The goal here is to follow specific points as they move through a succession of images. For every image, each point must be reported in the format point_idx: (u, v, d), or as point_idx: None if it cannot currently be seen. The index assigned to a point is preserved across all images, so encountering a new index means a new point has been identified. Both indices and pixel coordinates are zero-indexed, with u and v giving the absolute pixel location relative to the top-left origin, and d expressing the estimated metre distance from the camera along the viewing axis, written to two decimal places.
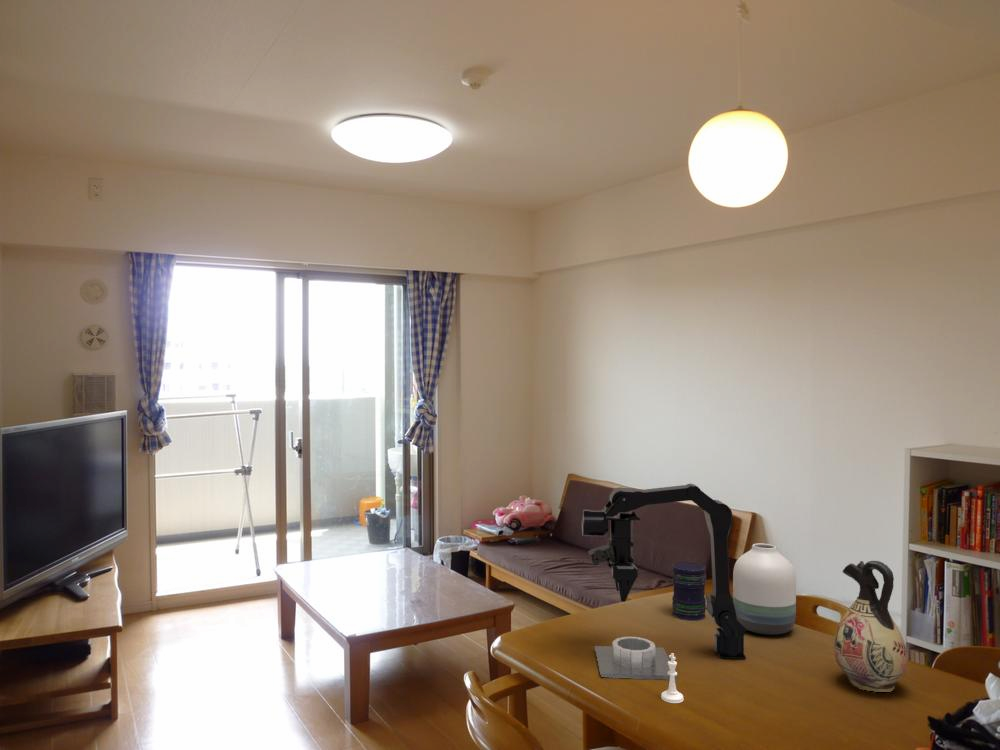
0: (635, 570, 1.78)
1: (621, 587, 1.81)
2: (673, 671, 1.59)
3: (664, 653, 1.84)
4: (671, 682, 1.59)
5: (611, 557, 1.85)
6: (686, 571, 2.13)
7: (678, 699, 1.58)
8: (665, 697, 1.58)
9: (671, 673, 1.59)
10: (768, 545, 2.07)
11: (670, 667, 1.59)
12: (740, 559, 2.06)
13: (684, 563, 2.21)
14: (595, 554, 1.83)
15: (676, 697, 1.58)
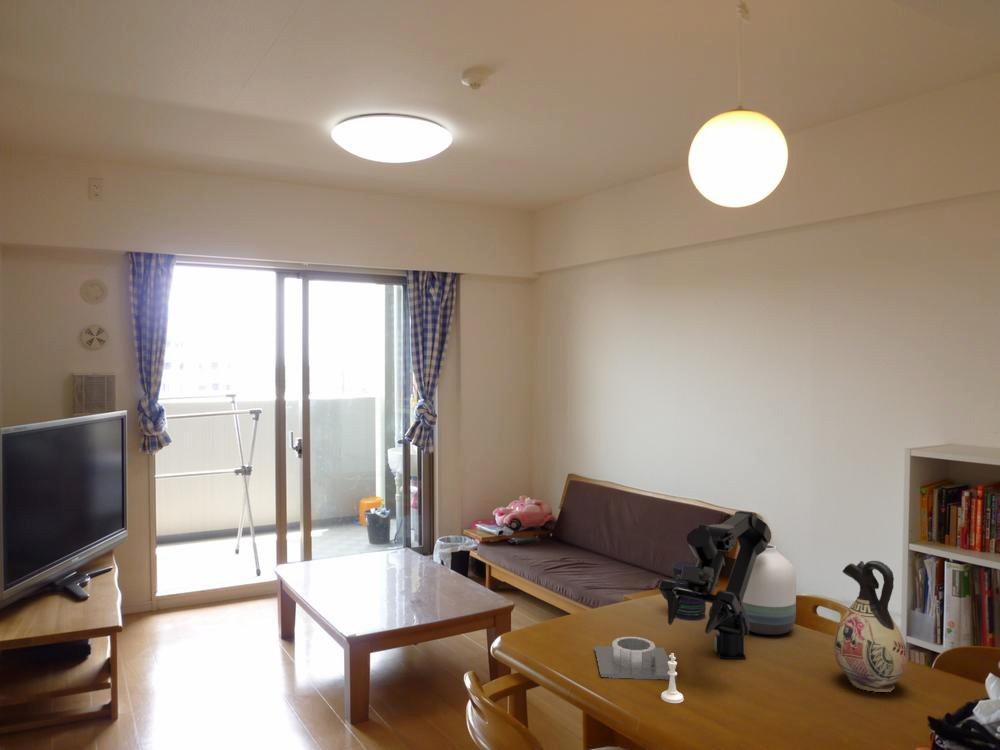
0: None
1: (715, 617, 1.64)
2: (673, 671, 1.59)
3: (664, 653, 1.84)
4: (671, 682, 1.59)
5: (709, 584, 1.69)
6: None
7: (678, 699, 1.58)
8: (665, 697, 1.58)
9: (671, 673, 1.59)
10: (768, 545, 2.07)
11: (670, 667, 1.59)
12: None
13: (684, 563, 2.21)
14: (710, 571, 1.66)
15: (676, 697, 1.58)
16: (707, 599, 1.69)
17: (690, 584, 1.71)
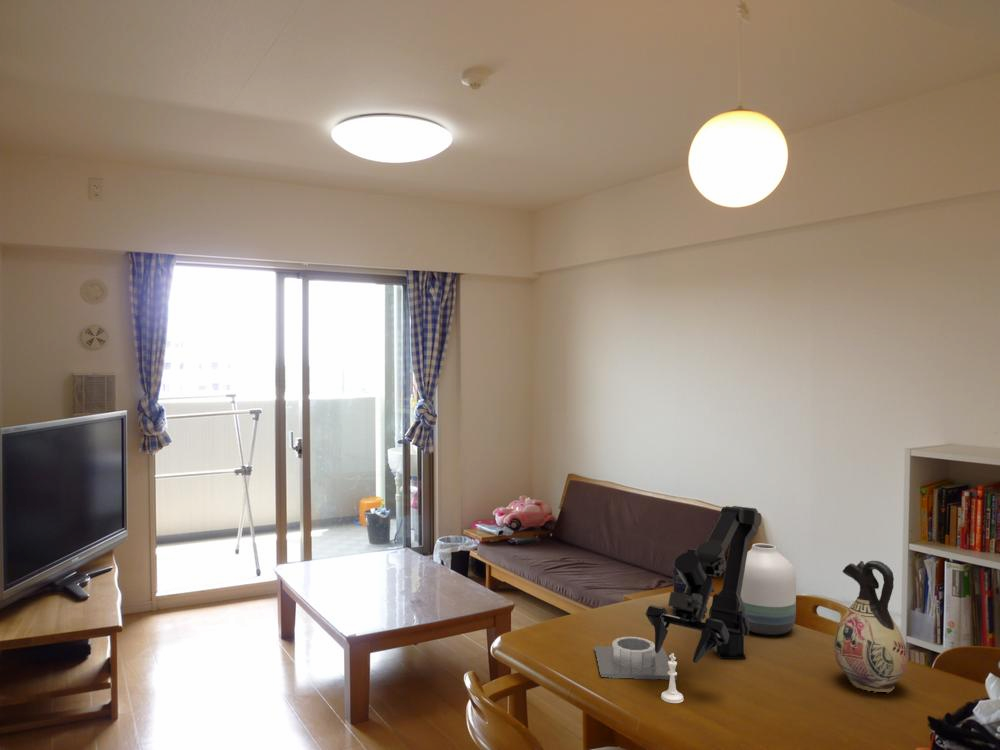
0: None
1: (704, 646, 1.59)
2: (673, 671, 1.59)
3: (664, 653, 1.84)
4: (671, 682, 1.59)
5: (697, 611, 1.63)
6: None
7: (678, 699, 1.58)
8: (665, 697, 1.58)
9: (671, 673, 1.59)
10: (768, 545, 2.07)
11: (670, 667, 1.59)
12: None
13: None
14: (699, 598, 1.61)
15: (676, 697, 1.58)
16: (695, 626, 1.63)
17: (678, 611, 1.66)
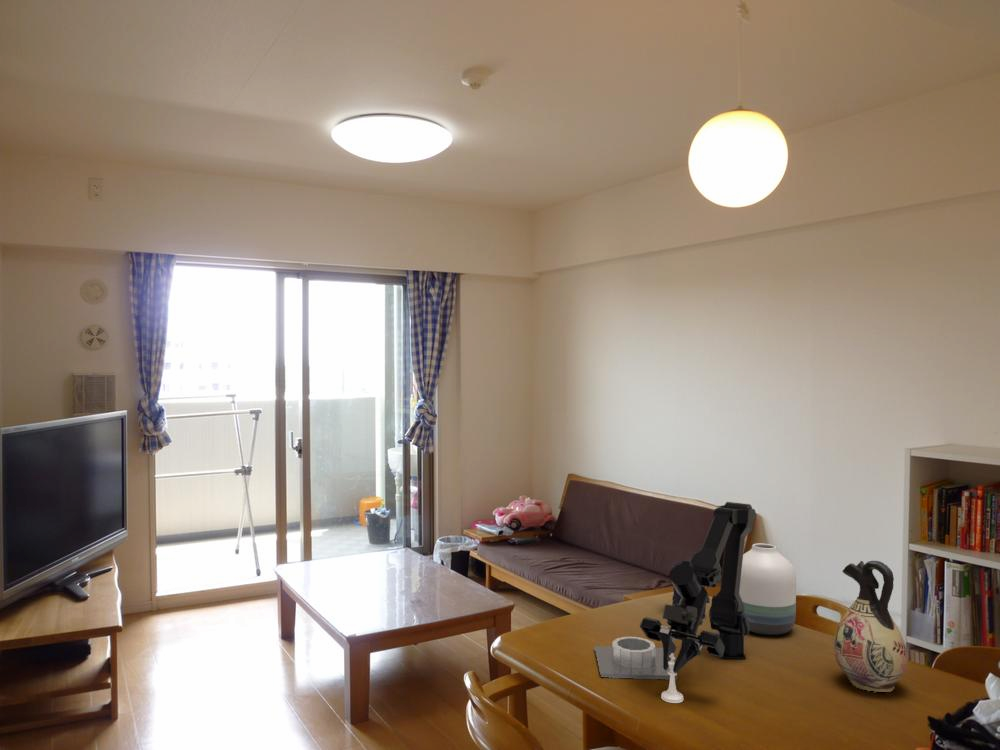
0: None
1: (684, 655, 1.59)
2: (673, 671, 1.59)
3: None
4: (671, 682, 1.59)
5: (692, 623, 1.61)
6: None
7: (678, 699, 1.58)
8: (665, 697, 1.58)
9: (671, 673, 1.59)
10: (768, 545, 2.07)
11: (670, 667, 1.59)
12: None
13: None
14: (693, 610, 1.59)
15: (676, 697, 1.58)
16: (676, 636, 1.64)
17: (673, 624, 1.63)
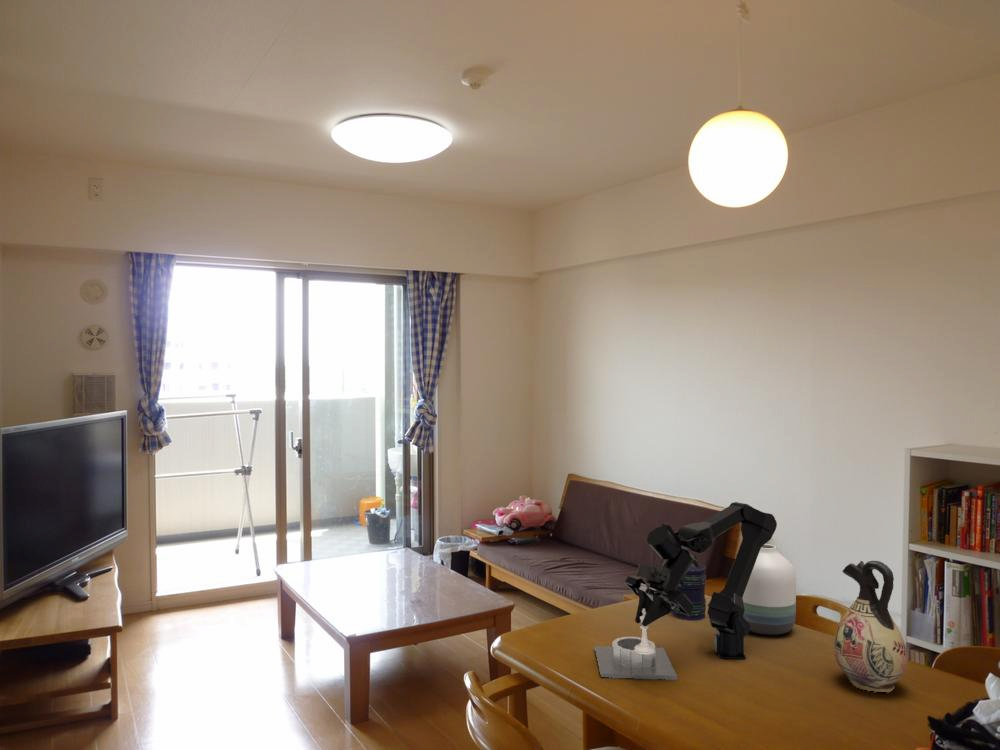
0: None
1: (654, 611, 1.69)
2: None
3: (664, 653, 1.84)
4: (642, 635, 1.70)
5: (665, 582, 1.70)
6: None
7: (646, 651, 1.68)
8: (635, 648, 1.70)
9: (642, 627, 1.70)
10: (768, 545, 2.07)
11: (641, 621, 1.70)
12: None
13: None
14: (662, 569, 1.68)
15: (645, 649, 1.68)
16: (653, 594, 1.73)
17: (650, 582, 1.73)
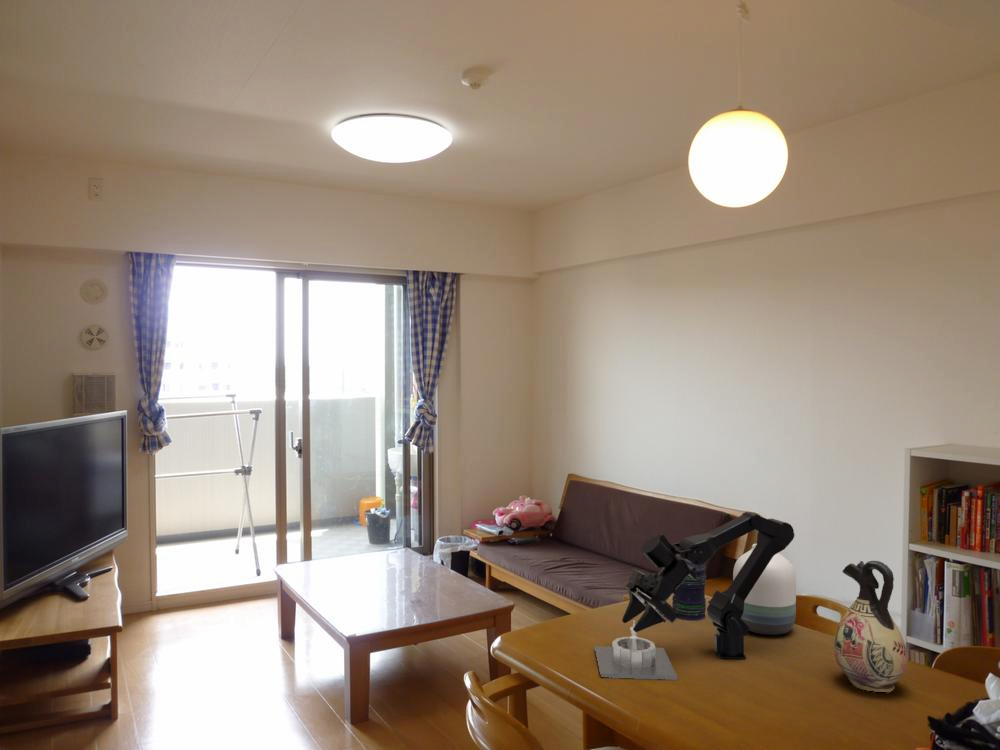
0: (676, 616, 1.72)
1: (645, 618, 1.75)
2: (633, 635, 1.79)
3: (664, 653, 1.84)
4: (632, 645, 1.79)
5: (654, 589, 1.77)
6: None
7: None
8: None
9: (631, 637, 1.79)
10: None
11: (631, 631, 1.79)
12: (740, 559, 2.06)
13: None
14: (648, 576, 1.76)
15: None
16: (650, 602, 1.79)
17: (643, 588, 1.81)
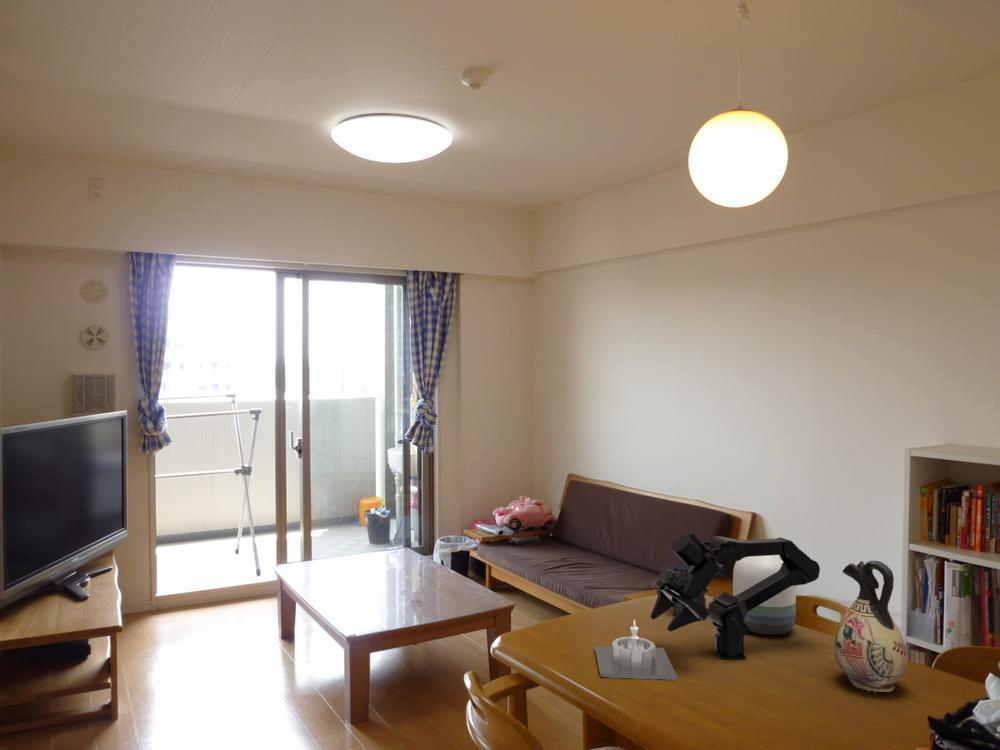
0: (707, 614, 1.74)
1: (679, 618, 1.76)
2: (634, 635, 1.79)
3: (664, 653, 1.84)
4: (632, 645, 1.79)
5: (685, 587, 1.80)
6: (686, 571, 2.13)
7: None
8: None
9: (631, 637, 1.79)
10: None
11: (631, 631, 1.79)
12: None
13: (684, 563, 2.21)
14: (679, 575, 1.78)
15: None
16: (683, 602, 1.80)
17: (674, 586, 1.83)
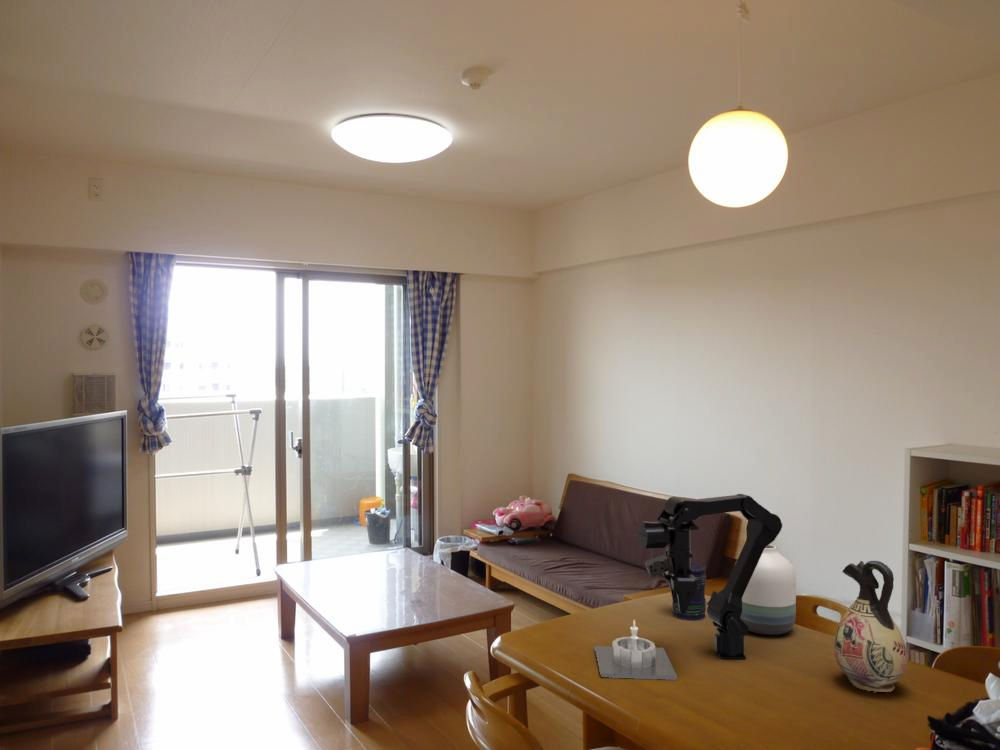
0: (696, 582, 1.73)
1: (681, 599, 1.77)
2: (633, 635, 1.79)
3: (664, 653, 1.84)
4: (632, 645, 1.79)
5: (670, 568, 1.80)
6: None
7: None
8: None
9: (631, 637, 1.79)
10: (768, 545, 2.07)
11: (631, 631, 1.79)
12: None
13: None
14: (653, 565, 1.79)
15: None
16: None
17: None
